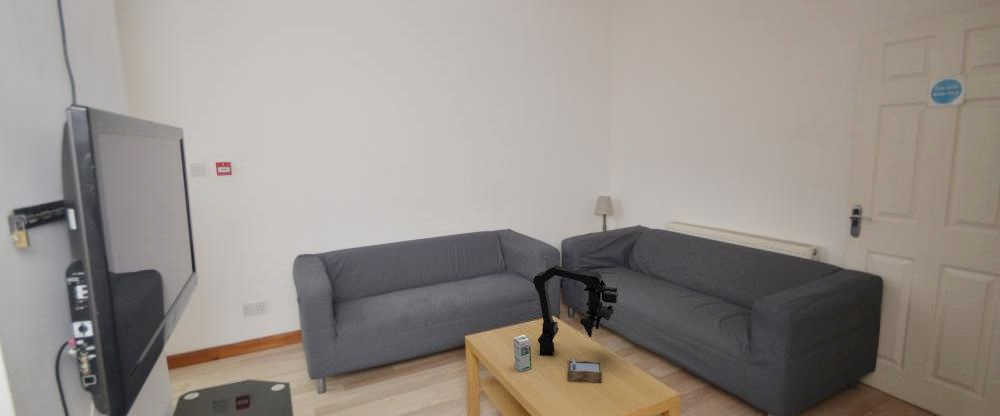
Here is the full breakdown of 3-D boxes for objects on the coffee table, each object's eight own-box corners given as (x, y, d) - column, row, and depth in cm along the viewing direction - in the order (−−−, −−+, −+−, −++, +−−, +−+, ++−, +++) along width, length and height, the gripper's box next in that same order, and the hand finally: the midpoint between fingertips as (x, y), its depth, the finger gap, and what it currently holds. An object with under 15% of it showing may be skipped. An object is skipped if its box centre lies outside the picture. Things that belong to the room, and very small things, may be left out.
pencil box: (567, 381, 190) (567, 370, 190) (567, 370, 199) (567, 360, 198) (601, 382, 188) (601, 372, 188) (599, 371, 197) (599, 361, 196)
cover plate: (570, 372, 191) (570, 365, 190) (570, 364, 197) (570, 357, 197) (599, 373, 189) (599, 366, 189) (598, 365, 196) (598, 358, 195)
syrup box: (520, 372, 199) (519, 341, 196) (514, 366, 204) (513, 336, 202) (531, 368, 201) (530, 338, 199) (525, 363, 207) (524, 333, 204)
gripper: (604, 311, 190) (604, 345, 193) (618, 296, 206) (617, 328, 208) (579, 306, 196) (579, 339, 199) (594, 292, 211) (594, 323, 214)
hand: (593, 332), depth 205 cm, fingers open, 9 cm apart
